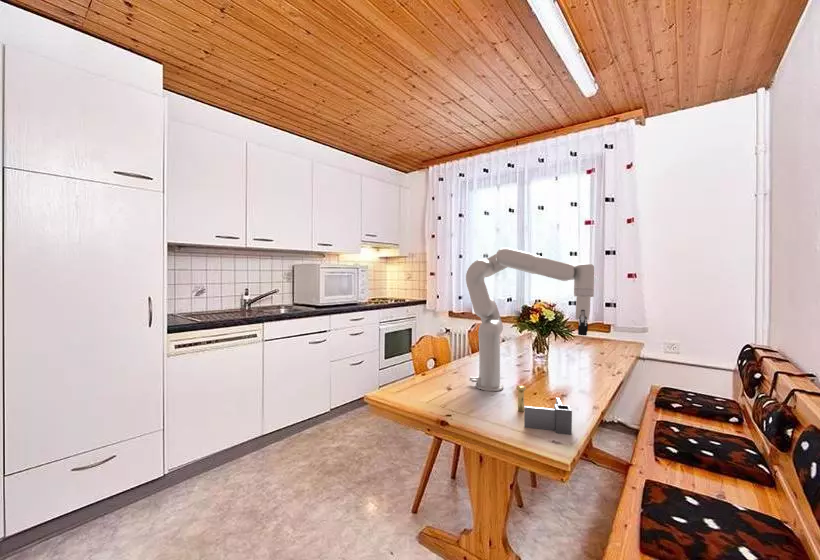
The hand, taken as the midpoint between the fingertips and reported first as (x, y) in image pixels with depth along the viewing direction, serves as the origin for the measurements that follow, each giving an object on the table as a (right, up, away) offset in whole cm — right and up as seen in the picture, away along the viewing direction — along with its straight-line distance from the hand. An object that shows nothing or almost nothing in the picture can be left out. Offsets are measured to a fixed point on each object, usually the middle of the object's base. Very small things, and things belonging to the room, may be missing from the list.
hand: (582, 333), depth 149 cm
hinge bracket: (-25, -28, -24) cm, 45 cm away
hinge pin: (-30, -28, -13) cm, 43 cm away
